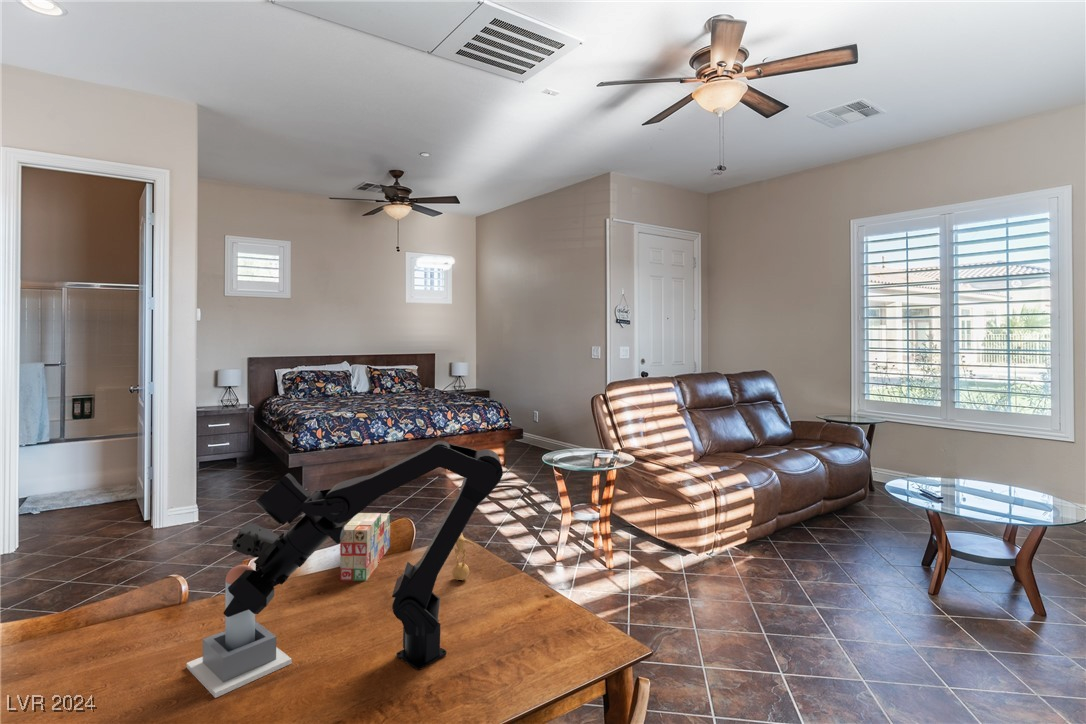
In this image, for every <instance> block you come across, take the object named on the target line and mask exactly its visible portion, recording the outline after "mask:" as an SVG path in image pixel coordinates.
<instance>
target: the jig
mask: <svg viewBox="0 0 1086 724" xmlns="http://www.w3.org/2000/svg"><path fill="white" fill-rule="evenodd" d="M292 662H293V661H292V658H291V657H290V655H289V656H288V654H287V653H285V652H284V651H282V650H281V649H280V648H279V647H277V635H275V634H274V633H273V632H271V631H269V630H268V629H267V628H265V626H263V625H262V624H261V623H259V622H258V621H256V620H255V642H252V643H250V644H247V645H245V646H242V647H240V648H237V649H235V650H232V651H230V652H228V651H227V650H225V630H224V631H221V632H218V633H216V634H213V635H210V636H207V637H204V638H203V639H202V656H200V657H198V658H195V659H193V660H190V661H188V662H186V668H187V670H188V671H189V672H190V673H191V674H192V676H194V677H195V679H197V680H198V681H199V683H201V684H202V686H203V687H205V689H206V690H207V691H208V692H209V693H210V694H211V695H212V696H213V697H214V698H215V699H216V698H218V697H221V696H223V695H226V694H227V693H229V692H231V691H235V690H236V689H239V688H240V687H244V686H245V685H247V684H249V683H252V682H253V681H256V680H258V679H260V678H262V677H265V676H267V675H270V674H272V673H273V672H277V671H278V670H281V669H282V668H284V667H287V666H289V665H291V664H292Z"/></svg>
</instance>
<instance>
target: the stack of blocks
mask: <svg viewBox="0 0 1086 724" xmlns="http://www.w3.org/2000/svg"><path fill="white" fill-rule="evenodd" d="M390 515H391V514H390V513H385V512H383V513H382V512H359V513H358V514H357V515H355V516H354V517H353V518H351V519H350V520H348V521H347V523H345V527H344V533H345V536H344V537H343V539H342V541H341V542H340V543H339V544H340V545H339V546H340V547H339V550H340V551H339V555H340V557H339V560H340V568H339V581H345V582H346V581H354V582H356V581H357V582H358V581H359V582H363V581H364V582H366V581H367V580H368V579H369V578H370V576H371V575H372V574H373V573H374V571H375V570H376V568H377V567H378V565H379V563H380V561H381V560H380V559H382V558H383V557H384V555H386V553H387V552H388V550H389V548H390V547H391V524H390V523H391V521H390V520H391V516H390ZM378 562H379V563H378Z"/></svg>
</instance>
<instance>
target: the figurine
mask: <svg viewBox="0 0 1086 724" xmlns="http://www.w3.org/2000/svg"><path fill="white" fill-rule="evenodd" d="M465 544H469V545H471V546H473V547H474V549H475V550H476V552H479V548H478V547H477V546H476V544H475V542H473V541H471V540H469V539H466V537H464V535H463V532H462V533H461V535H460V537H459V538H458V540H457V542H456V544H455V546H456V547H455V548H454V555H455V560H456V564H455V565H453V567H452V570H451V573H452V577H453V578H454V579H455V580H456V581H458V580H462V581H465V580H466V579H467V578H468V576H469V575H470V568H469V566H468V565H467V564H466V563H465V560H466V559H467V558H466V555H467V548H466V547H465ZM460 553H461V554H462V555H463V556H462V561H461V562H460V561H459V559H460V558H459V555H460Z"/></svg>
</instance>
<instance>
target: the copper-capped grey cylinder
mask: <svg viewBox="0 0 1086 724" xmlns="http://www.w3.org/2000/svg"><path fill="white" fill-rule="evenodd" d="M245 570H254V569H253V567H251V566H250V565H248V564H239V565H236V566H234V567H232V568H231V569H230V570H229V571H228V572H227V573H226V577H225V587H224V588H225V590H224V591H225V592H224V593H225V598H224V600H225V609H226V608H227V606H228V605H229V604H230V602H231V601H232V599H233V598H234V596H233V595H232V594H231V593H230V592H229V590H228V587H229V586H230V585H231V584H232V583H233V582H234V581H235V580H236V579H237V578H238V577H239V576H240V575H241V574H242V573H243V572H244V571H245ZM225 609H224V610H225ZM224 617H225V619H224V621H225V622H224V624H225V630H224V631H225V650H227V651H228V652H230V651H232V650H235V649H237V648H240V647H242V646H245V645H247V644H250V643H252V642H255V621H256V614H253V613H252V612H251V611H250V610H246V611H243V612H241V613H238V614H235V615H233V616H230V617H226V616H225V615H224Z"/></svg>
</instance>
